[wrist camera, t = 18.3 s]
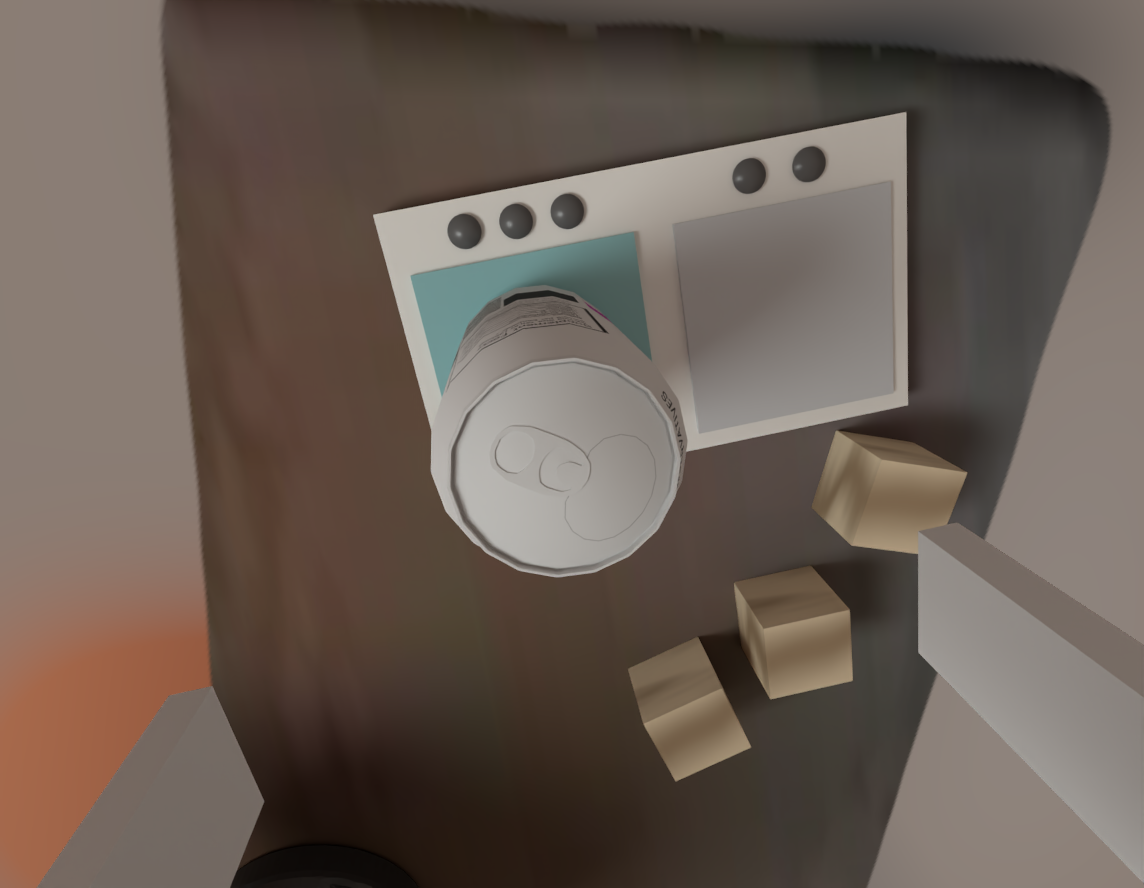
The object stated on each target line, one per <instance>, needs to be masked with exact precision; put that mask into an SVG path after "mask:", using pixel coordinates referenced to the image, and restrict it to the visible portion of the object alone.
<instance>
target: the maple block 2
mask: <svg viewBox="0 0 1144 888" xmlns="http://www.w3.org/2000/svg"><path fill="white" fill-rule="evenodd" d="M734 588H735V596H736V605H737V614H738V623H739V631H740V640H741V648H742V649H743V651H744V653H745V655H746V657H747V658H748V660H749V662H750V664H751V666H752V667H753V669H754V671H755V673H756V675H757V676H758V678H759V680H760V682H761V683H762V685H763V687H764V689H765V691H766V692H767V694H768V696H769V698H770V699H775V698H779V697H784V696H788V695H792V694H797V693H801V692H806V691H810V690H814V689H819V688H823V687H828V686H832V685H836V684H841V683H845V682H850V681H853V674H852V650H851V626H850V609H849V608H848V607H847V606H846V605H845V604H844V603H843V601H842V600H841V599H840V598H839V597H838V596H837V595H836V594H835V592H834V591H833V590H832V589H831V588H830V587H829V586H828V584H827V583H826V582H825V581H824V580H823V579H822V578H821V577H820V575H819V574H818V573H817V572H816V571H815V570H814V569H813V567H812V566H806V567H801V568H797V569H792V570H788V571H783V572H779V573H774V574H769V575H765V576H760V577H756V578H751V579H747V580H742V581H737V582H734Z"/></svg>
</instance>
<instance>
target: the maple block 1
mask: <svg viewBox="0 0 1144 888" xmlns="http://www.w3.org/2000/svg"><path fill="white" fill-rule="evenodd" d="M628 671H629V675H630V678H631V682H632V686H633V689H634V693H635V696H636V700H637V703H638V707H639V710H640V714H641V718H642V721H643V724H644V726H645V728H646V730H647V731H648V733H649V735H650V737H651V739H652V740H653V742H654V744H655V746H656V747H657V749H658V751H659V753H660V754H661V756H662V758H663V760H664V762H665V763H666V765H667V767H668V769H669V770H670V772H671V774H672V776H673V778H674V779H675V781H678V780H680V779H682V778H685V777H687V776H689V775H691V774H693V773H696V772H698V771H700V770H702V769H705V768H707V767H709V766H711V765H713V764H716V763H718V762H720V761H722V760H724V759H727V758H729V757H731V756H733V755H736V754H738V753H740V752H742V751H744V750H747V749H749V748H751V746H750V744H749V742H748V739H747V737H746V735H745V733H744V731H743V729H742V727H741V725H740V722H739V720H738V718H737V716H736V714H735V712H734V710H733V708H732V705H731V703H730V701H729V699H728V697H727V695H726V693H725V691H724V689H723V687H722V685H721V683H720V681H719V678H718V676H717V674H716V672H715V670H714V668H713V666H712V664H711V662H710V660H709V658H708V656H707V654H706V652H705V650H704V648H703V646H702V644H701V642H700V640H699V638H698V637H696V638H694V639H691V640H689V641H687V642H685V643H683V644H681V645H678V646H676V647H674V648H672V649H670V650H668V651H666V652H663V653H661V654H659V655H657V656H655V657H653V658H650V659H648V660H646V661H644V662H642V663H640V664H637V665H635V666H633V667H631V668H629V669H628Z"/></svg>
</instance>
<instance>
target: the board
mask: <svg viewBox="0 0 1144 888" xmlns="http://www.w3.org/2000/svg"><path fill="white" fill-rule="evenodd" d="M373 216H374V220H375V224H376V228H377V231H378V235H379V239H380V242H381V246H382V250H383V253H384V257H385V261H386V264H387V268H388V272H389V276H390V279H391V283H392V287H393V290H394V294H395V298H396V301H397V305H398V309H399V312H400V316H401V320H402V323H403V327H404V331H405V335H406V338H407V342H408V346H409V349H410V353H411V357H412V360H413V364H414V368H415V371H416V375H417V379H418V382H419V386H420V390H421V394H422V397H423V401H424V405H425V408H426V412H427V416H428V419H429V423H430V427H431V430H432V426H433V423H434V420H435V417H436V414H437V411H438V408H439V405H440V402H441V399H442V396H443V393H444V390H445V387H446V384H447V381H448V377H449V374H450V371H451V368H452V365H453V362H454V359H455V356H456V353H457V350H458V348H459V345H460V343H461V340H462V338H463V335H464V333H465V330H466V328H467V326H468V323H469V322H470V321H471V320H472V319H473V318H474V317H475V315H476V314H477V313H478V312H479V311H480V310H481V309H482V308H483V307H484V306H485V305H486V304H487V303H488V301H490V300H492V299H494V298H496V297H498V296H500V295H502V294H504V293H506V292H508V291H510V290H512V289H514V288H520V287H529V286H539V285H548V286H552V287H555V288H559V289H563V290H567V291H571V292H574V293H576V294H577V295H578V296H580V297H581V298H583V299H584V300H586V301H587V302H588V303H590V304H591V305H593V306H594V307H596V308H597V309H598V310H599V311H600V312H601V313H602V314H603V315H604V316H605V317H606V318H608V319H609V320H610V321H611V322H612V323H613V324H614V325H615V326H616V327H617V328H618V329H619V330H620V331H621V332H622V333H623V334H624V335H625V336H626V337H627V338H628V339H629V340H630V341H631V342H632V343H633V344H634V345H635V346H636V347H638V348H639V349H640V350H641V351H642V352H643V353H644V354H645V355H646V356H647V357H648V358H649V359H650V360H651V361H652V362H653V363H654V364H655V366H656V367H657V369H658V370H659V371H660V373H661V374H662V376H663V377H664V379H665V380H666V382H667V383H668V385H669V386H670V388H671V389H672V391H673V392H674V394H675V395H676V397H677V398H678V400H679V404H680V408H681V413H682V417H683V422H684V426H685V431H686V435H687V440H688V442H687V449H686V452H687V451H692V450H697V449H701V448H706V447H711V446H716V445H721V444H725V443H730V442H735V441H740V440H744V439H749V438H754V437H759V436H764V435H768V434H773V433H778V432H783V431H787V430H792V429H797V428H802V427H807V426H811V425H816V424H821V423H826V422H830V421H835V420H840V419H845V418H849V417H854V416H859V415H864V414H869V413H873V412H878V411H883V410H888V409H892V408H897V407H902V406H907V405H908V322H907V140H906V112H904V113H899V114H893V115H888V116H883V117H878V118H873V119H867V120H862V121H857V122H852V123H847V124H842V125H836V126H831V127H826V128H821V129H816V130H810V131H805V132H800V133H795V134H790V135H785V136H779V137H774V138H769V139H764V140H759V141H753V142H748V143H743V144H738V145H733V146H728V147H722V148H717V149H712V150H707V151H702V152H696V153H691V154H686V155H681V156H676V157H671V158H665V159H660V160H655V161H650V162H645V163H639V164H634V165H629V166H624V167H619V168H614V169H608V170H603V171H598V172H593V173H588V174H582V175H577V176H572V177H567V178H562V179H557V180H551V181H546V182H541V183H536V184H531V185H525V186H520V187H515V188H510V189H505V190H500V191H494V192H489V193H484V194H479V195H474V196H468V197H463V198H458V199H453V200H448V201H443V202H437V203H432V204H427V205H422V206H417V207H411V208H406V209H401V210H396V211H391V212H386V213H380V214H375V215H373Z"/></svg>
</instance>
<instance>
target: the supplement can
mask: <svg viewBox="0 0 1144 888" xmlns="http://www.w3.org/2000/svg"><path fill="white" fill-rule="evenodd" d="M687 442H688V440H687V435H686V431H685V426H684V422H683V417H682V413H681V408H680V404H679V400H678V398H677V397H676V395H675V394H674V392H673V391H672V389H671V388H670V386H669V385H668V383H667V382H666V380H665V379H664V377H663V376H662V374H661V373H660V371H659V370H658V369H657V367H656V366H655V364H654V363H653V362H652V361H651V360H650V359H649V358H648V357H647V356H646V355H645V354H644V353H643V352H642V351H641V350H640V349H639V348H638V347H636V346H635V345H634V344H633V343H632V342H631V341H630V340H629V339H628V338H627V337H626V336H625V335H624V334H623V333H622V332H621V331H620V330H619V329H618V328H617V327H616V326H615V325H614V324H613V323H612V322H611V321H610V320H609V319H608V318H606V317H605V316H604V315H603V314H602V313H601V312H600V311H599V310H598V309H597V308H596V307H594V306H593V305H591V304H590V303H588V302H587V301H586V300H584V299H583V298H581V297H580V296H578V295H577V294H576V293H574V292H571V291H567V290H563V289H559V288H555V287H552V286H548V285H539V286H529V287H520V288H514V289H512V290H510V291H508V292H506V293H504V294H502V295H500V296H498V297H496V298H494V299H492V300H490V301H488V303H487V304H486V305H485V306H484V307H483V308H482V309H481V310H480V311H479V312H478V313H477V314H476V315H475V317H474V318H473V319H472V320H471V321H470V322H469V323H468V326H467V328H466V330H465V333H464V335H463V338H462V340H461V343H460V345H459V348H458V350H457V353H456V356H455V359H454V362H453V365H452V368H451V371H450V374H449V377H448V381H447V384H446V387H445V390H444V393H443V396H442V399H441V402H440V405H439V408H438V411H437V414H436V417H435V420H434V423H433V426H432V436H431V474H432V476H433V479H434V481H435V484H436V487H437V489H438V492H439V495H440V497H441V500H442V503H443V505H444V508H445V511H446V512H447V513H448V515H449V516H450V517H451V518H452V519H453V520H454V521H455V522H456V524H457V525H458V526H459V527H460V528H461V529H462V530H463V531H464V533H465V534H466V535H467V536H468V537H469V538H470V539H471V541H472V542H473V543H475V544H476V545H478V546H480V547H481V548H482V549H483V550H484V551H485V552H486V553H487V554H489V555H491V556H493V557H495V558H496V559H498V560H500V561H502V562H504V563H506V564H507V565H509V566H511V567H513V568H515V569H517V570H518V571H523V572H529V573H534V574H540V575H545V576H551V577H564V576H571V575H579V574H586V573H594V572H597V571H599V570H601V569H603V568H605V567H607V566H609V565H612V564H614V563H616V562H618V561H620V560H622V559H624V558H627V557H629V556H630V555H631V554H632V553H633V552H635V551H636V550H637V549H638V548H639V547H640V546H641V545H642V544H643V543H644V542H645V541H646V540H647V539H648V538H650V537H651V536H652V535H653V534H654V533H655V532H656V531H657V530H658V528H659V527H660V525H661V523H662V521H663V519H664V517H665V515H666V513H667V512H668V510H669V508H670V506H671V504H672V502H673V500H674V499H675V497H676V492H677V490H678V488H679V486H680V484H681V482H682V477H683V470H684V463H685V456H686V449H687Z"/></svg>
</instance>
